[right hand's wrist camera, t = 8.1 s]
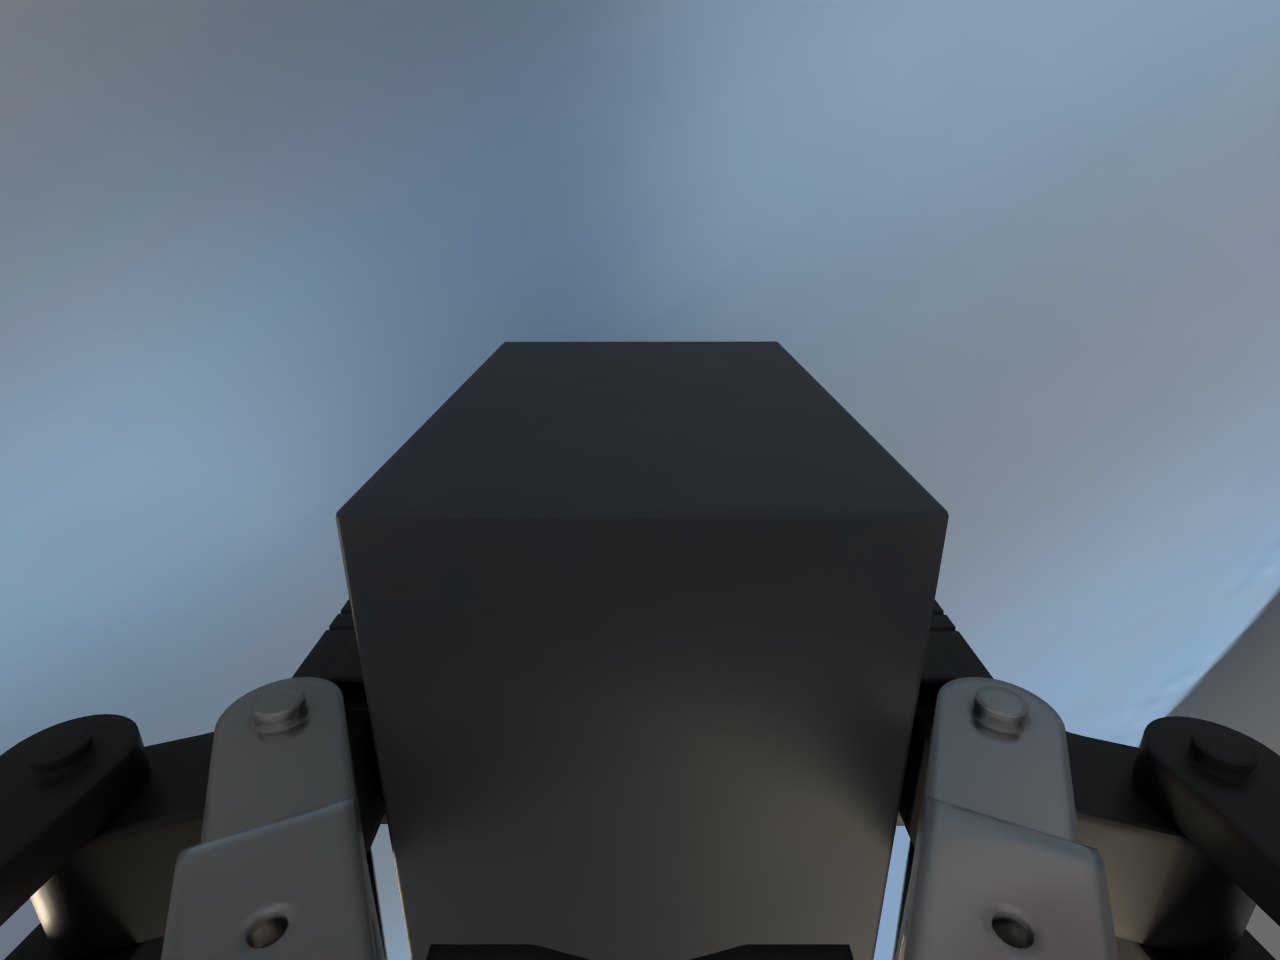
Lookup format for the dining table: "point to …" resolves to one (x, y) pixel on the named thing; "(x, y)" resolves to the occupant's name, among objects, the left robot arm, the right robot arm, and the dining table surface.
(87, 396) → the dining table surface
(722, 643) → the box
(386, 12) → the dining table surface
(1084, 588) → the dining table surface
